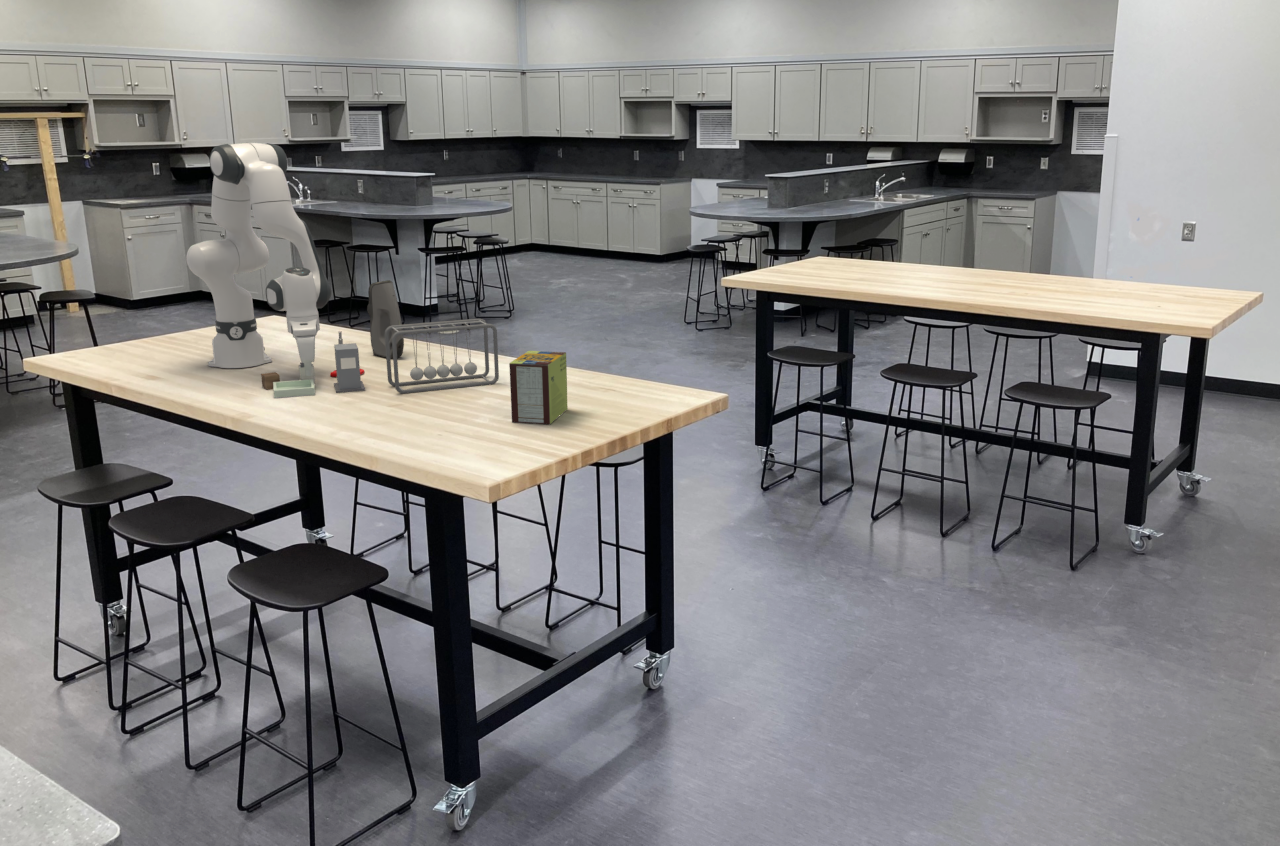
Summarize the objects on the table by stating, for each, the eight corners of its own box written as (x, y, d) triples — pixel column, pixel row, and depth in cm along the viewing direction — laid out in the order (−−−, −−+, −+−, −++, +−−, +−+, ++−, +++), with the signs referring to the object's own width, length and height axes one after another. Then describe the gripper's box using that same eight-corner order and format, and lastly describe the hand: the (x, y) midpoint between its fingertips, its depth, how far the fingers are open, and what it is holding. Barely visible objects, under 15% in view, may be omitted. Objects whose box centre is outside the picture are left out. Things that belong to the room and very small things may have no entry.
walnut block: (262, 387, 302) (261, 373, 301) (276, 385, 304) (275, 372, 303) (266, 390, 299) (265, 376, 297) (280, 388, 301) (279, 374, 300)
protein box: (568, 409, 277) (566, 351, 273) (550, 425, 262) (548, 364, 258) (530, 407, 279) (528, 350, 275) (510, 422, 265) (508, 362, 260)
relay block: (300, 382, 307) (298, 362, 306) (314, 381, 309) (312, 361, 307) (300, 385, 304) (298, 365, 302) (315, 384, 305) (313, 364, 303)
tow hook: (341, 371, 323) (326, 377, 313) (338, 326, 320) (324, 331, 310) (369, 372, 321) (355, 378, 312) (367, 327, 318) (353, 332, 309)
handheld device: (385, 352, 348) (380, 276, 341) (412, 358, 338) (407, 281, 331) (369, 354, 344) (363, 278, 337) (395, 361, 334) (390, 283, 327)
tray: (273, 389, 299) (273, 382, 298) (313, 386, 302) (312, 379, 302) (274, 398, 289) (273, 390, 289) (315, 394, 293) (314, 387, 292)
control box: (333, 385, 304) (330, 344, 301) (362, 382, 306) (359, 342, 303) (336, 392, 295) (332, 350, 291) (365, 390, 297) (362, 348, 294)
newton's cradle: (488, 376, 314) (486, 317, 309) (499, 384, 305) (497, 323, 300) (388, 387, 302) (383, 325, 297) (396, 395, 293) (391, 332, 288)
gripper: (290, 320, 310) (295, 366, 314) (292, 331, 291) (297, 380, 295) (313, 318, 312) (317, 364, 316) (316, 329, 293) (321, 378, 297)
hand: (308, 372), depth 305 cm, fingers open, 8 cm apart
